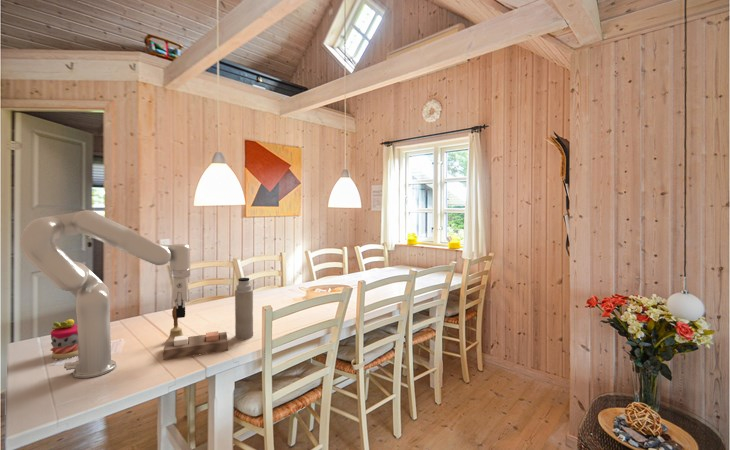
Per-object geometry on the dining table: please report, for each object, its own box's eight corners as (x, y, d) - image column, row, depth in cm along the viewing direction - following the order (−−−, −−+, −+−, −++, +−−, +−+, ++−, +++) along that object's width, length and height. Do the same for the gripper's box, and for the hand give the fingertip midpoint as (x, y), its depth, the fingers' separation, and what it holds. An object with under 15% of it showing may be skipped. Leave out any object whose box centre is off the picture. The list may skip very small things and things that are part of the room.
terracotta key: (206, 343, 147) (205, 336, 147) (206, 339, 151) (205, 332, 151) (218, 341, 149) (218, 335, 149) (218, 337, 153) (218, 331, 153)
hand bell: (177, 344, 153) (176, 309, 152) (161, 343, 154) (160, 308, 154) (190, 337, 161) (190, 304, 160) (175, 336, 163) (174, 303, 162)
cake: (57, 351, 144) (56, 316, 143) (88, 347, 148) (87, 313, 148) (46, 362, 135) (45, 324, 134) (79, 357, 139) (78, 321, 138)
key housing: (163, 360, 137) (163, 350, 137) (166, 348, 148) (166, 339, 148) (227, 350, 147) (227, 341, 147) (226, 340, 158) (226, 331, 158)
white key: (174, 348, 142) (173, 341, 142) (175, 343, 146) (174, 336, 146) (187, 346, 144) (187, 339, 144) (188, 341, 148) (188, 335, 148)
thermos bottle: (247, 332, 169) (247, 275, 168) (256, 336, 164) (256, 278, 162) (232, 336, 163) (231, 278, 162) (240, 341, 158) (240, 280, 156)
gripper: (189, 276, 138) (189, 321, 139) (191, 270, 152) (191, 310, 153) (167, 277, 135) (168, 323, 136) (171, 271, 149) (172, 312, 150)
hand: (180, 316), depth 145 cm, fingers closed
